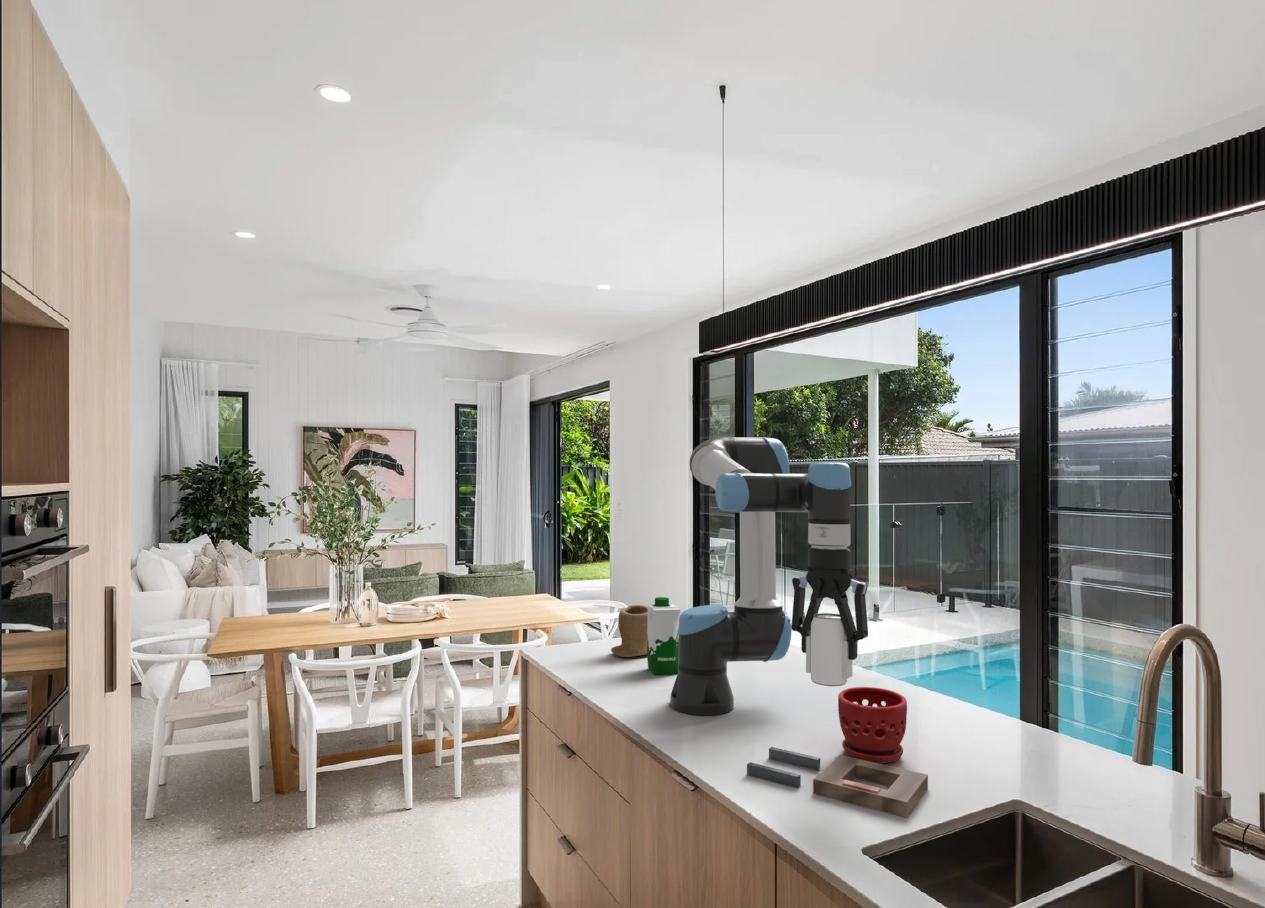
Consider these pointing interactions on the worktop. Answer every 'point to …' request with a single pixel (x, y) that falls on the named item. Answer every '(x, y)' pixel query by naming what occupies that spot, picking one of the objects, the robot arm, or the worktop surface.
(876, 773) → the plate
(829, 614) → the can
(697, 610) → the robot arm
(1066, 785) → the worktop surface
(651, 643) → the milk carton
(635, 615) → the brown boot
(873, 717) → the plant pot
